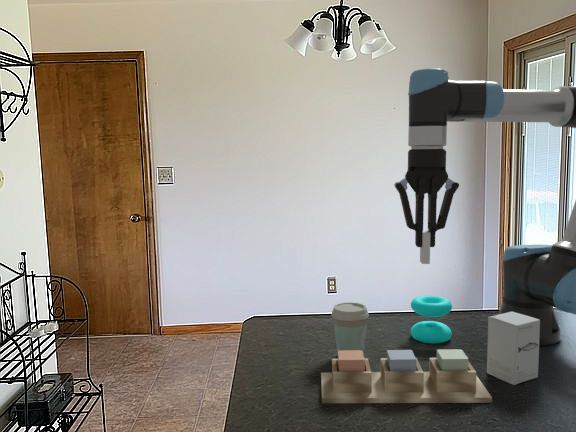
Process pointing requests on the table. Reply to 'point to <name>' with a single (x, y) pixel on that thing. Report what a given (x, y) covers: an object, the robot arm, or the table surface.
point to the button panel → (403, 385)
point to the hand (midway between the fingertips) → (424, 262)
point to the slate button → (401, 360)
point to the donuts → (431, 329)
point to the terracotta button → (351, 361)
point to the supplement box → (513, 347)
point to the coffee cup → (350, 325)
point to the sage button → (452, 360)
